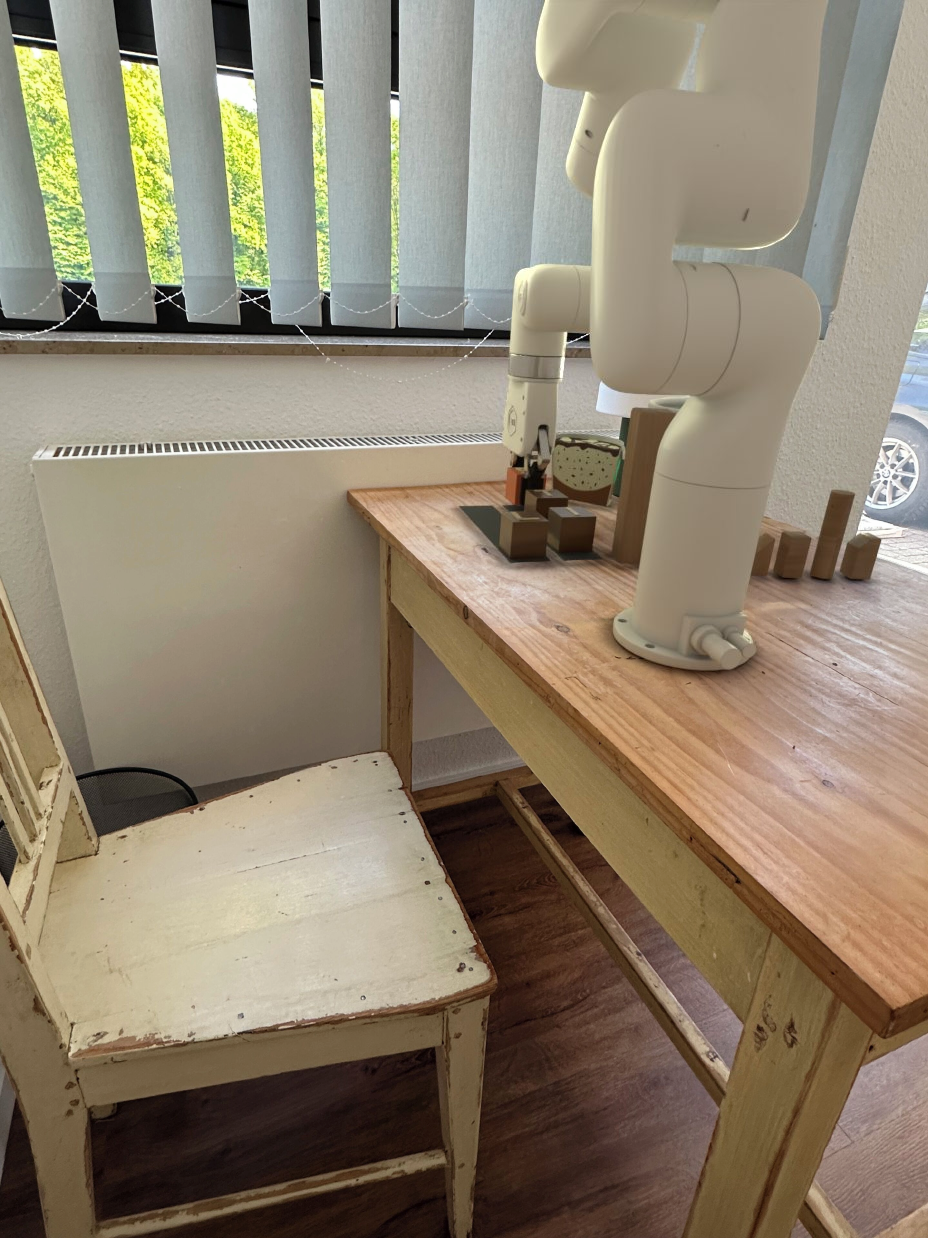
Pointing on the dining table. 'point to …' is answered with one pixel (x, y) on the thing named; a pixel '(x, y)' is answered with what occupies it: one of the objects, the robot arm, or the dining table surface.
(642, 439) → the wooden block
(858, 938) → the dining table surface
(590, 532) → the slotted brown box
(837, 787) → the dining table surface
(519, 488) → the letter S
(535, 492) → the letter T
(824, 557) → the wood blocks
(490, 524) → the flat dark green strips
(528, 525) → the box with white label
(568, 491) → the food container
